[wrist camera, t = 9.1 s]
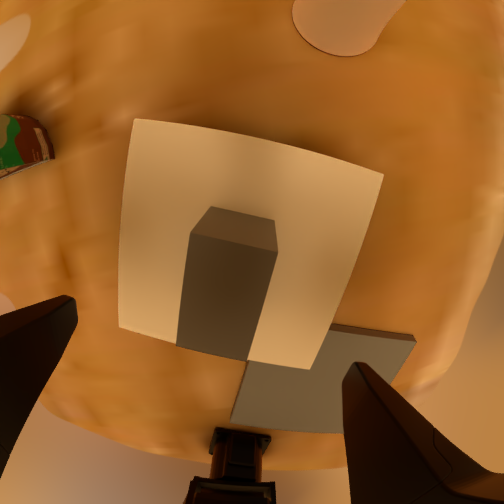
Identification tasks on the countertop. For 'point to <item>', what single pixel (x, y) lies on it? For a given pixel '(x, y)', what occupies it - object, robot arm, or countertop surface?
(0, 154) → the food container
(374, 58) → the countertop surface
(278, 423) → the mat
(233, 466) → the robot arm
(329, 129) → the countertop surface
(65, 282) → the countertop surface
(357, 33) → the cosmetic bottle
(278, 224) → the lid
